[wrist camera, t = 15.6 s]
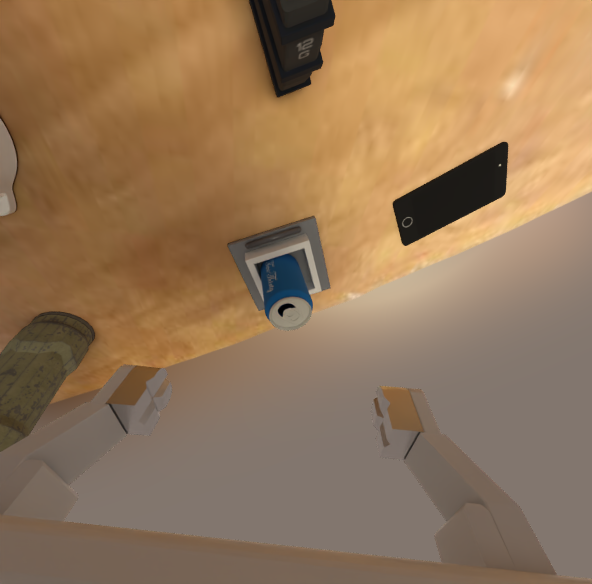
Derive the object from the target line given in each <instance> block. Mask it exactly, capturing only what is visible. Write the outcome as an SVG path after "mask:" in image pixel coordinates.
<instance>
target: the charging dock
mask: <svg viewBox="0 0 592 584" xmlns="http://www.w3.org/2000/svg"><path fill="white" fill-rule="evenodd" d="M228 248H229V250H230V252H231V254H232V256H233V258H234V260H235V262H236V264H237V266H238V269H239V271H240V273H241V275H242V277H243V279H244V281H245V283H246V285H247V287H248V289H249V291H250V294H251V296H252V298H253V300H254V302H255V304H256V306H257V308H258V310H259V311H260V310H263V309H265V307H264V298H263V290H262V281H261V273H260V269H261V265H262V263H263V262H264V261H265V260H269V259H272V258H275V257H278V256H281V255H284V254H289V255H291V256H293V257H294V258H295V259H296V260H297V262H298V264H299V266H300V269H301V272H302V275H303V277H304V280H305V283H306V286H307V288H308V291H309V294H310V295H311V294H314V293H317V292H320V291H323V290H326V289H329V288H330V283H329V278H328V274H327V269H326V264H325V260H324V255H323V251H322V246H321V241H320V237H319V232H318V228H317V223H316V218H315V216H312V217H309V218H306V219H303V220H300V221H296V222H293V223H290V224H287V225H284V226H281V227H278V228H275V229H272V230H269V231H265V232H262V233H259V234H256V235H253V236H250V237H247V238H244V239H241V240H238V241H234V242H231V243H228Z"/></svg>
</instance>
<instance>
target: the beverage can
mask: <svg viewBox="0 0 592 584" xmlns="http://www.w3.org/2000/svg"><path fill="white" fill-rule="evenodd" d="M260 273H261V281H262V290H263V298H264V307H265V314H266V316H267V318H268V319H269V321H270V322H271V323H272V325H273V326H274V327H276V328H278V329H280V330H287V331H289V330H295V329H298V328H300V327H302V326H304V325H305V324H306V323H307V322H308V321H309V319H310V317H311V314H312V308H313V303H312V299H311V297H310V294H309V291H308V288H307V286H306V283H305V280H304V277H303V275H302V272H301V269H300V266H299V264H298V262H297V260H296V259H295V258H294V257H293V256H291V255H289V254H284V255H281V256H278V257H275V258H272V259H269V260H265V261H264V262H263V263H262V265H261V269H260Z"/></svg>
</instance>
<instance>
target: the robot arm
mask: <svg viewBox="0 0 592 584" xmlns="http://www.w3.org/2000/svg"><path fill="white" fill-rule="evenodd" d="M16 171H17V157H16V152H15V148H14V145H13V142H12V139H11V137H10V135H9V133H8V131H7V129H6V127H5V125H4V123H3V122H2V120H1V119H0V216H4V215H8V214H12V213H14V212H15V211H16V202H15V198H14V194H13V191H12V185H13V181H14V178H15V175H16ZM166 376H167V372H166V369H164V368H155V367H146V366H137V365H126V364H124V365H123V366H121V367H120V368H119V369H118V370H117V371H116V372H115V373H114V375H113V376H112V377H111V378H110V379H109V380H108V382H107V383H106V384H105V385H104V386H103V388H102V389H101V390H100V391H99V392H98V394H97V395H96V396H95V397H94V398H93V399H92V401H91V402H85V403H84V404H82V405H80V406H79V407H77V408H75V409H73V410H72V411H70V412H68V413H66V414H65V415H63V416H61V417H60V418H58V419H56V420H55V421H53V422H51V423H50V424H48V425H46V426H44V427H43V428H41V429H39V430H38V431H36V432H34V433H32V434H31V435H29V436H27V437H25V438H24V439H22V440H20V441H19V442H17V443H15V444H13V445H12V446H10V447H8V448H7V449H5V450H3V451H1V452H0V584H592V579H588V578H579V577H569V576H561V575H557V574H556V572H555V570H554V569H553V567H552V565H551V563H550V561H549V559H548V557H547V556H546V554H545V552H544V550H543V548H542V547H541V545H540V543H539V541H538V539H537V537H536V535H535V534H534V532H533V530H532V528H531V526H530V524H529V523H528V521H527V519H526V517H525V515H524V513H523V512H522V510H521V508H520V506H518V505H517V503H515V502H514V501H513V500H512V499H511V498H510V497H509V496H508V495H507V494H506V493H505V492H504V491H503V490H502V489H501V488H500V487H499V486H498V485H497V484H496V483H495V482H494V481H493V480H492V479H491V478H490V477H489V476H488V475H487V474H486V473H485V472H484V471H483V470H481V469H480V468H479V467H478V466H477V465H476V464H475V463H474V462H473V461H472V460H471V459H470V458H469V457H468V456H467V455H466V454H465V453H464V452H463V451H462V450H461V449H460V448H459V447H458V446H457V445H456V444H455V443H454V442H453V441H452V440H451V439H450V438H448V437H447V436H446V435H443V434H441V433H440V430H439V428H438V425H437V423H436V420H435V418H434V416H433V413H432V411H431V409H430V406H429V404H428V402H427V399H426V397H425V394H424V392H423V391H422V390H421V389H407V388H400V387H386V386H379V387H378V389H377V391H376V394H377V398H375V399H374V400H373V404H372V420H373V425H374V427H375V428H376V429H377V430H378V434H377V436H376V441H377V446H378V451H379V456H380V457H382V458H390V459H398V460H404V462H405V464H406V465H407V467H408V468H409V469H410V471H411V472H412V474H413V475H414V476H415V478H416V479H417V481H418V482H419V483H420V485H421V486H422V488H423V489H424V491H425V492H426V493H427V495H428V496H429V498H430V499H431V500H432V502H433V503H434V505H435V506H436V507H437V509H438V510H439V512H440V513H441V514H442V516H443V517H444V518H445V520H446V521H447V522H446V523H445V524H444V525H443V526H442V527H441V528H440V529H439V530H438V531H437V532H436V534H435V536H434V537H435V541H436V544H437V548H438V551H439V555H440V558H441V562H442V563H441V562H432V561H423V560H414V559H405V558H395V557H385V556H377V555H367V554H359V553H349V552H340V551H331V550H322V549H313V548H304V547H294V546H285V545H276V544H267V543H258V542H249V541H239V540H230V539H221V538H211V537H202V536H193V535H184V534H175V533H166V532H157V531H148V530H138V529H129V528H120V527H110V526H101V525H92V524H83V523H74V522H64V520H65V518H66V517H67V515H68V513H69V512H70V510H71V509H72V507H73V506H74V504H75V503H76V501H77V500H78V494H77V493H76V492H75V491H74V490H73V489H72V488H71V487H70V486H69V485H70V484H71V483H72V482H73V481H75V479H77V478H78V477H79V476H80V475H81V474H83V473H84V472H85V471H86V470H87V469H89V468H90V467H91V466H92V465H93V464H94V463H95V462H97V461H98V460H99V459H100V458H101V457H102V456H104V455H105V454H106V453H107V452H108V451H110V450H111V449H112V448H113V447H114V446H115V445H117V444H118V443H119V442H120V441H121V440H122V439H123V438H124V437H126V436H127V434H134V435H150V434H151V433H152V431H153V429H154V427H155V425H156V424H157V422H158V420H159V418H160V416H159V411H160V410H162V409H164V408H165V407H166V406H167V404H168V402H169V400H170V397H171V393H172V386H171V383H170V381H168V380H167V379H166Z"/></svg>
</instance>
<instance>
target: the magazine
mask: <svg viewBox="0 0 592 584" xmlns="http://www.w3.org/2000/svg"><path fill="white" fill-rule="evenodd" d="M249 1H250V5H251V8H252V12H253V15H254V19H255V22H256V26H257V29H258V33H259V36H260V40H261V43H262V47H263V50H264V54H265V57H266V61H267V64H268V68H269V71H270V75H271V78H272V82H273V85H274V89H275V92H276V96H277V97H280V96H283V95H286V94H288V93H291V92H293V91H296V90H298V89H301V88H303V87H306V86H309V85H310V84H311V80H310V76H311V74H312V72H313V71H315V70H318V69H320V68H321V67H322V64H323V60H322V56H321V52H320V48H321V45H322V39H323V33H324V29H326V28H329V27H331V26H333V25H334V20H335V13H334V9H333V5H332V1H331V0H249Z"/></svg>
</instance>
